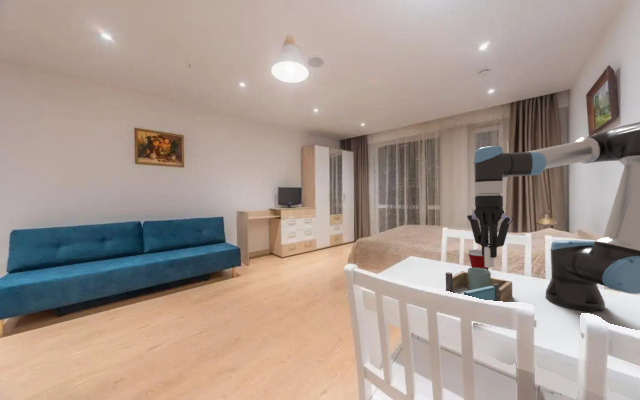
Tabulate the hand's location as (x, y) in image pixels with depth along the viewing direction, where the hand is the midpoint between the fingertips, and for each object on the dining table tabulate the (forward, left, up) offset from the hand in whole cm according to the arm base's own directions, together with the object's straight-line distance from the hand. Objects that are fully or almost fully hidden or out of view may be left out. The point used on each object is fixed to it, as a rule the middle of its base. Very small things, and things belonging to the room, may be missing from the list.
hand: (489, 266), depth 79 cm
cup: (+10, -19, -18) cm, 28 cm away
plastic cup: (+19, -45, -18) cm, 52 cm away
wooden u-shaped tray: (+10, -19, -18) cm, 28 cm away
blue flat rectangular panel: (+5, -5, -17) cm, 18 cm away
